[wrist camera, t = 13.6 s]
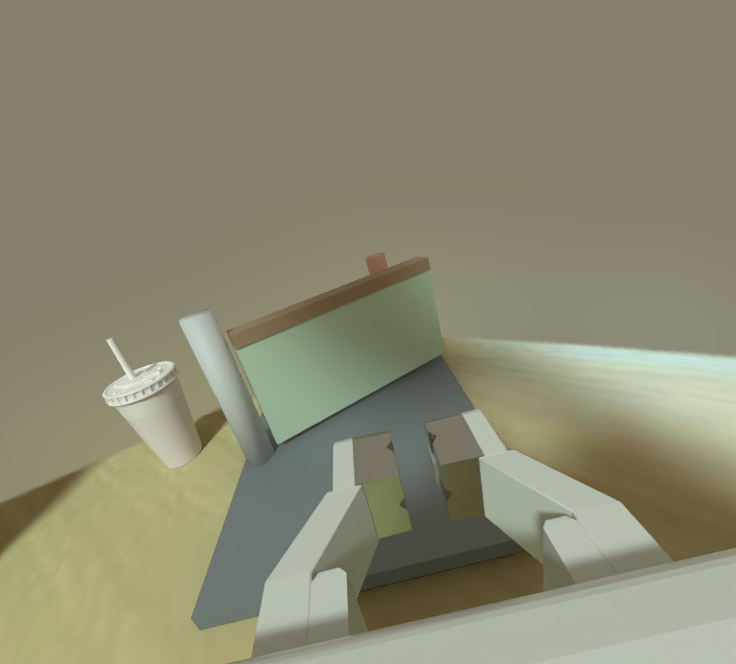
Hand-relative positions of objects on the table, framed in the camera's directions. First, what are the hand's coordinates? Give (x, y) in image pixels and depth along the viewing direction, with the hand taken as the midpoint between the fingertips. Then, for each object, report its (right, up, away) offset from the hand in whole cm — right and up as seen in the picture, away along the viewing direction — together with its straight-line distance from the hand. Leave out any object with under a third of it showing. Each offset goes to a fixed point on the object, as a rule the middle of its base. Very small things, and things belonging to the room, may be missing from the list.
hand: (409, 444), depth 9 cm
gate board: (-2, -7, +22) cm, 23 cm away
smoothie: (-21, -10, +27) cm, 36 cm away
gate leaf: (-1, -3, +26) cm, 26 cm away
